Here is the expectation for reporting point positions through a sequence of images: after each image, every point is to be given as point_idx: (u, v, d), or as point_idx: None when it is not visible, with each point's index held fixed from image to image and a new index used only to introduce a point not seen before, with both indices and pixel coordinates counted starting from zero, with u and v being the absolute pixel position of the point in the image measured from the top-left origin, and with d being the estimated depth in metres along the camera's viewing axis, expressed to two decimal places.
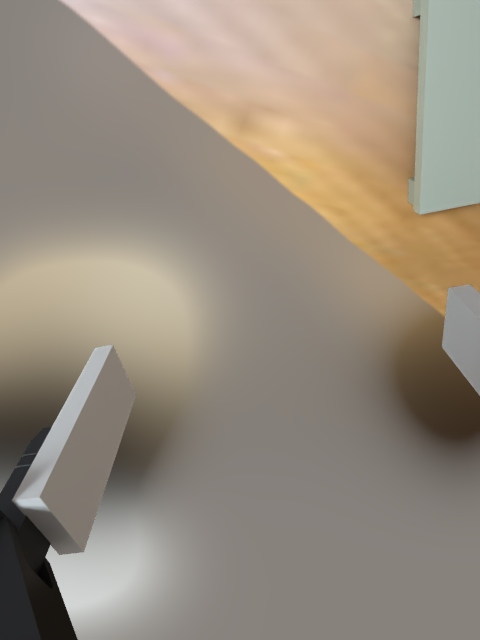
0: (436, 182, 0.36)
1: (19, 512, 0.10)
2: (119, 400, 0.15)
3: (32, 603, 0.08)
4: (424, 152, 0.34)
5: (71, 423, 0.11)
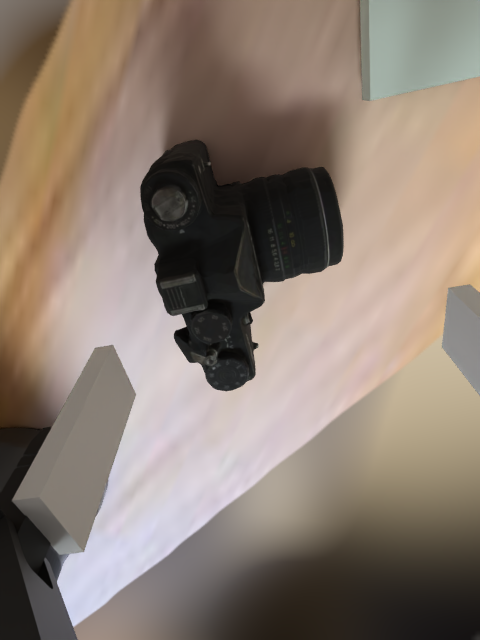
0: None
1: (19, 512, 0.10)
2: (119, 400, 0.15)
3: (32, 603, 0.08)
4: None
5: (71, 423, 0.11)
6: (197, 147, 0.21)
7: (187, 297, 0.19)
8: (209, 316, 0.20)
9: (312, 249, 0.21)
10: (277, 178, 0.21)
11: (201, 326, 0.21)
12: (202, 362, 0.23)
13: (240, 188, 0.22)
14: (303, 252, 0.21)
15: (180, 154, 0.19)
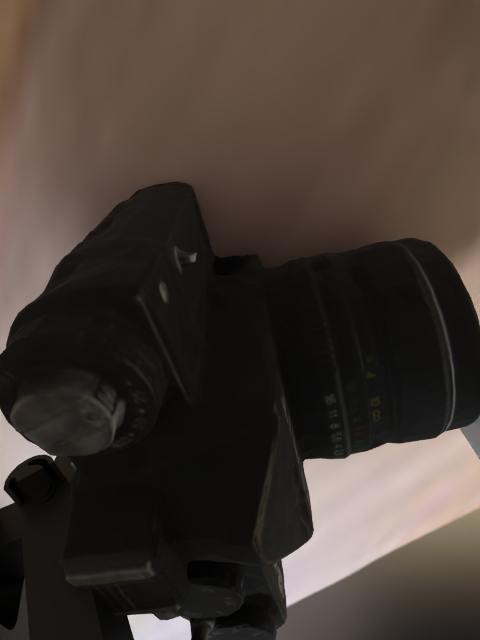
0: None
1: None
2: None
3: None
4: None
5: None
6: (171, 207, 0.10)
7: (137, 595, 0.08)
8: (194, 588, 0.09)
9: (417, 426, 0.10)
10: (340, 270, 0.10)
11: None
12: (186, 617, 0.12)
13: (261, 287, 0.11)
14: (396, 429, 0.10)
15: (118, 246, 0.08)
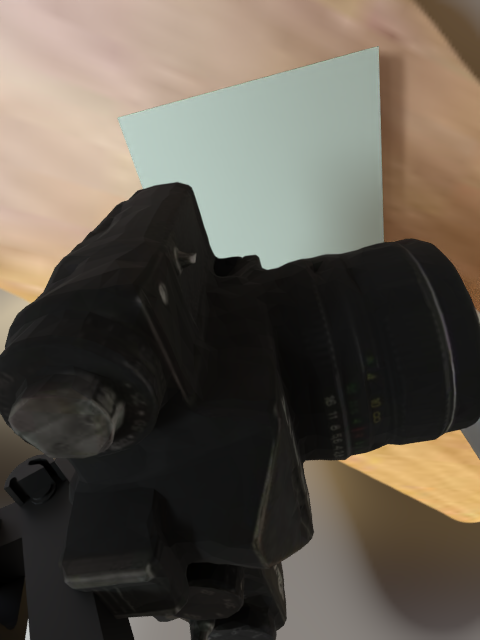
0: None
1: None
2: None
3: None
4: None
5: None
6: (171, 208, 0.10)
7: (137, 598, 0.08)
8: (194, 590, 0.09)
9: (417, 428, 0.10)
10: (341, 271, 0.10)
11: None
12: (185, 619, 0.12)
13: (261, 288, 0.11)
14: (396, 431, 0.10)
15: (118, 247, 0.07)
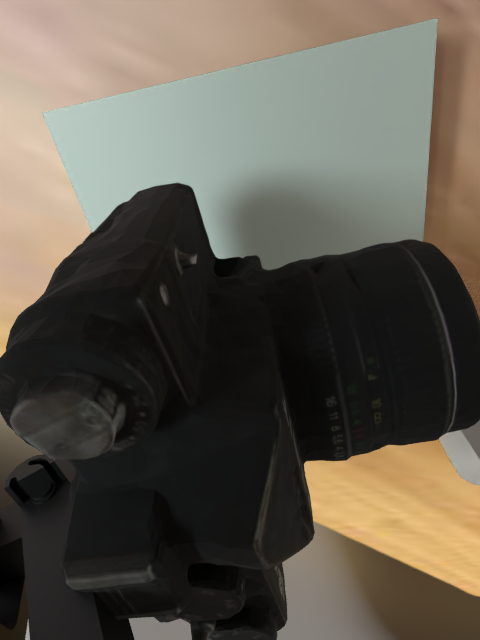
0: None
1: None
2: None
3: None
4: None
5: None
6: (172, 209, 0.10)
7: (138, 599, 0.08)
8: (195, 590, 0.09)
9: (418, 428, 0.10)
10: (341, 272, 0.10)
11: None
12: (186, 620, 0.12)
13: (262, 289, 0.11)
14: (397, 432, 0.10)
15: (119, 249, 0.07)
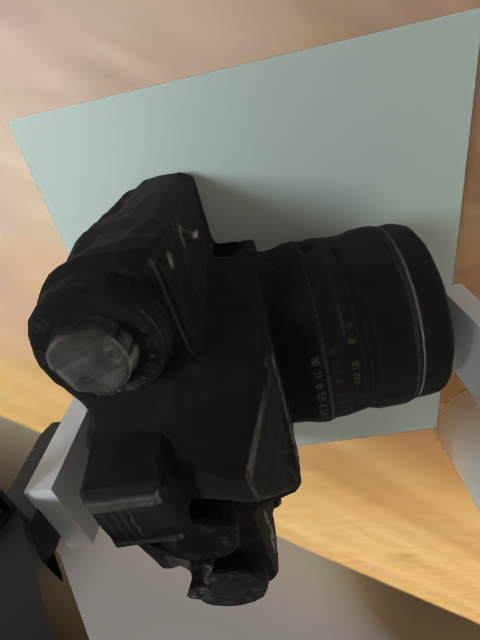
0: None
1: (30, 505, 0.10)
2: None
3: (43, 595, 0.08)
4: None
5: (80, 417, 0.12)
6: (175, 193, 0.11)
7: (146, 524, 0.09)
8: (195, 527, 0.10)
9: (393, 388, 0.11)
10: (326, 250, 0.11)
11: (181, 540, 0.11)
12: (186, 567, 0.13)
13: (255, 266, 0.12)
14: (375, 392, 0.11)
15: (131, 222, 0.09)
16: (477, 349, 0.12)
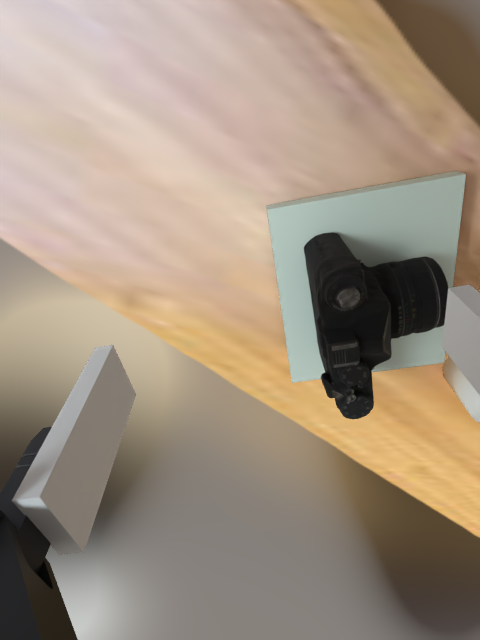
0: (303, 359, 0.39)
1: (19, 512, 0.10)
2: (119, 400, 0.15)
3: (32, 603, 0.08)
4: (287, 338, 0.38)
5: (71, 423, 0.11)
6: (344, 244, 0.30)
7: (348, 356, 0.27)
8: (355, 367, 0.28)
9: (427, 319, 0.29)
10: (401, 267, 0.30)
11: (348, 374, 0.29)
12: (338, 397, 0.31)
13: (372, 272, 0.30)
14: (420, 321, 0.29)
15: (345, 257, 0.27)
16: None
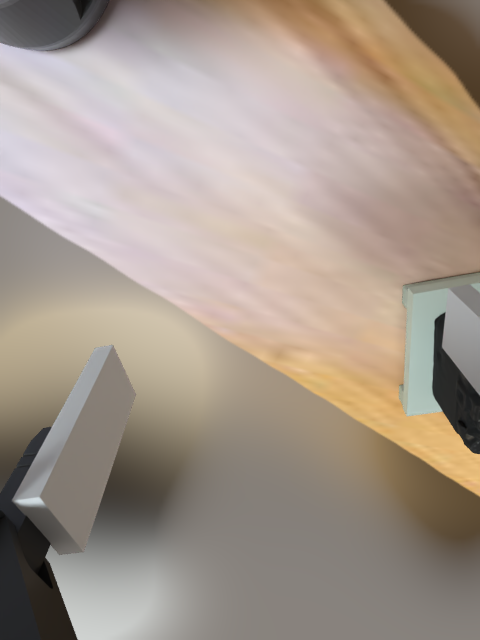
0: (419, 399, 0.49)
1: (19, 512, 0.10)
2: (119, 400, 0.15)
3: (32, 603, 0.08)
4: (410, 384, 0.47)
5: (71, 423, 0.11)
6: None
7: None
8: None
9: None
10: None
11: None
12: (469, 438, 0.41)
13: None
14: None
15: None
16: None
